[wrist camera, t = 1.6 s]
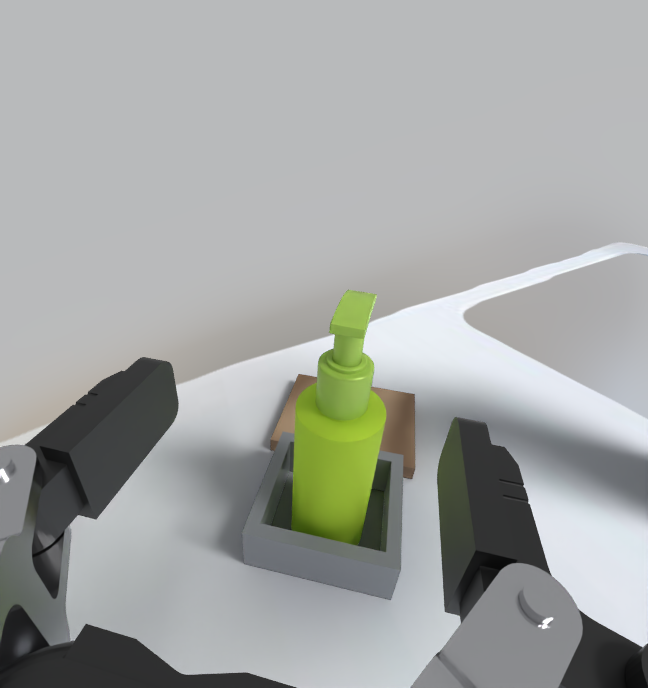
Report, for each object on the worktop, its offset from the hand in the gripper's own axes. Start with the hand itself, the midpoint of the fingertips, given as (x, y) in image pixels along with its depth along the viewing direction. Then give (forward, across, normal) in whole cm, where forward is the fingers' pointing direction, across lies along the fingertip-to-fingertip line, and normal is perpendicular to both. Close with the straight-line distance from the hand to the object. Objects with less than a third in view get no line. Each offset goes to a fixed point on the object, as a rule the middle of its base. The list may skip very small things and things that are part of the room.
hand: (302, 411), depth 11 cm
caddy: (+12, 0, +22) cm, 25 cm away
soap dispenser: (+12, 0, +22) cm, 25 cm away
